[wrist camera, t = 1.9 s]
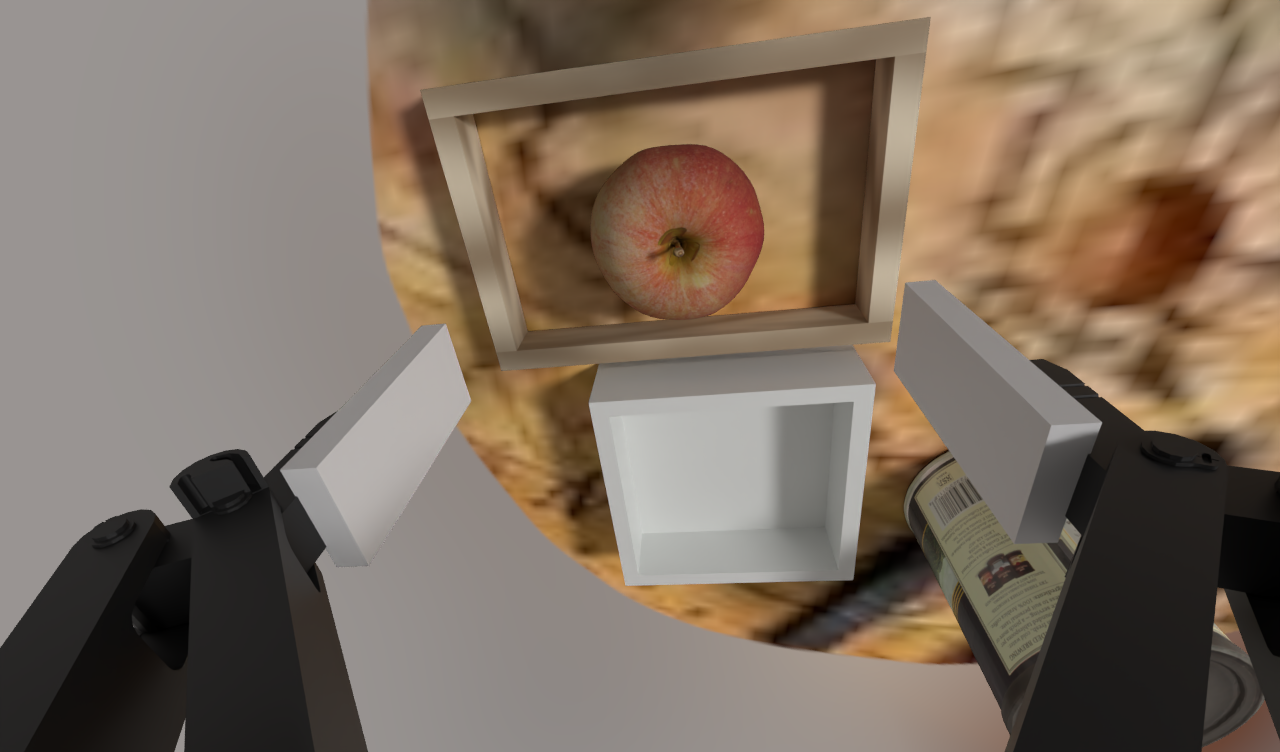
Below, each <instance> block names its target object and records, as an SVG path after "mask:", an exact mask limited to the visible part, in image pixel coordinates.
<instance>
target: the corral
mask: <svg viewBox="0 0 1280 752" xmlns="http://www.w3.org/2000/svg"><path fill="white" fill-rule="evenodd" d="M930 18H931V17H927V18H920V19H913V20H906V21H899V22H892V23H885V24H878V25H871V26H864V27H857V28H850V29H843V30H836V31H829V32H822V33H815V34H808V35H801V36H794V37H787V38H780V39H773V40H766V41H759V42H752V43H745V44H738V45H731V46H724V47H717V48H710V49H703V50H696V51H689V52H682V53H675V54H668V55H661V56H654V57H647V58H640V59H633V60H626V61H619V62H612V63H605V64H598V65H591V66H584V67H577V68H570V69H563V70H556V71H549V72H542V73H535V74H528V75H521V76H514V77H507V78H500V79H493V80H486V81H479V82H472V83H465V84H458V85H451V86H444V87H437V88H430V89H423V90H420V91H421V95H422V98H423V102H424V105H425V109H426V112H427V116H428V119H429V122H430V126H431V129H432V133H433V136H434V140H435V143H436V147H437V150H438V153H439V157H440V160H441V164H442V167H443V171H444V174H445V178H446V181H447V184H448V188H449V191H450V195H451V198H452V202H453V205H454V209H455V212H456V216H457V219H458V222H459V226H460V229H461V233H462V236H463V240H464V243H465V247H466V250H467V253H468V257H469V260H470V264H471V267H472V271H473V274H474V278H475V281H476V284H477V288H478V291H479V295H480V298H481V302H482V305H483V309H484V312H485V315H486V319H487V322H488V326H489V329H490V333H491V336H492V340H493V343H494V346H495V350H496V353H497V357H498V360H499V364H500V367H501V371H507V370H520V369H533V368H547V367H560V366H573V365H587V364H600V363H613V362H627V361H640V360H653V359H667V358H680V357H694V356H707V355H720V354H734V353H747V352H760V351H774V350H787V349H800V348H814V347H827V346H841V345H854V344H867V343H881V342H890V339H891V331H892V323H893V315H894V307H895V299H896V291H897V283H898V275H899V267H900V259H901V251H902V243H903V235H904V227H905V219H906V211H907V202H908V194H909V186H910V178H911V170H912V162H913V154H914V146H915V138H916V130H917V122H918V114H919V106H920V98H921V90H922V82H923V74H924V66H925V58H926V50H927V42H928V34H929V26H930ZM873 59H876V65H875V77H874V89H873V101H872V113H871V124H870V136H869V148H868V160H867V172H866V183H865V195H864V207H863V219H862V231H861V242H860V254H859V266H858V278H857V289H856V301H855V304H851V305H839V306H827V307H815V308H803V309H791V310H779V311H767V312H755V313H743V314H731V315H719V316H707V317H701V318H696V319H690V320H659V321H647V322H635V323H623V324H611V325H599V326H587V327H575V328H563V329H551V330H539V331H527V327H526V323H525V319H524V315H523V311H522V307H521V303H520V299H519V295H518V291H517V287H516V283H515V279H514V275H513V271H512V267H511V263H510V259H509V255H508V251H507V247H506V243H505V239H504V235H503V231H502V227H501V223H500V219H499V215H498V211H497V207H496V203H495V199H494V195H493V191H492V187H491V183H490V179H489V176H488V172H487V168H486V164H485V160H484V156H483V152H482V148H481V144H480V140H479V136H478V132H477V128H476V124H475V120H474V116H473V114H474V113H482V112H489V111H497V110H504V109H511V108H519V107H526V106H533V105H541V104H548V103H556V102H563V101H570V100H578V99H585V98H592V97H600V96H607V95H615V94H622V93H629V92H637V91H644V90H651V89H659V88H666V87H674V86H681V85H688V84H696V83H703V82H710V81H718V80H725V79H732V78H740V77H747V76H755V75H762V74H769V73H777V72H784V71H791V70H799V69H806V68H814V67H821V66H828V65H836V64H843V63H850V62H858V61H865V60H873Z"/></svg>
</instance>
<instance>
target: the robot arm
mask: <svg viewBox="0 0 1280 752" xmlns="http://www.w3.org/2000/svg"><path fill="white" fill-rule="evenodd" d="M894 372H895V373H896V375H897V376H898V377H899V379H900V380H901V382H902V383H903V385H904V386H905V388H906V389H907V390H908V392H909V393H910V395H911V396H912V398H913V399H914V401H915V402H916V403H917V405H918V406H919V408H920V409H921V411H922V412H923V413H924V415H925V416H926V418H927V419H928V421H929V422H930V424H931V425H932V426H933V428H934V429H935V431H936V432H937V434H938V435H939V437H940V438H941V439H942V441H943V442H944V444H945V445H946V447H947V448H948V450H949V451H950V452H951V454H952V455H953V457H954V458H955V460H956V461H957V462H958V464H959V465H960V467H961V468H962V470H963V471H964V473H965V474H966V475H967V477H968V478H969V480H970V481H971V483H972V484H973V486H974V487H975V488H976V490H977V491H978V493H979V494H980V496H981V497H982V499H983V500H984V501H985V503H986V504H987V506H988V507H989V509H990V510H991V511H992V513H993V514H994V516H995V517H996V519H997V520H998V522H999V523H1000V524H1001V526H1002V527H1003V529H1004V530H1005V532H1006V533H1007V535H1008V536H1009V537H1010V539H1011V540H1012V542H1013V543H1014V544H1030V543H1058V541H1059V538H1060V535H1061V533H1062V530H1063V527H1064V524H1065V522H1066V519H1068V520H1069V521H1070V522H1071V524H1072V525H1073V526H1074V527H1075V528H1076V529H1077V531H1078V532H1079V533H1080V534H1081V537H1080V539H1079V542H1078V544H1077V547H1076V549H1075V552H1074V555H1073V557H1072V560H1071V562H1070V565H1069V567H1068V570H1067V572H1066V575H1065V581H1064V584H1063V587H1062V590H1061V592H1060V595H1059V598H1058V601H1057V604H1056V607H1055V610H1054V612H1053V615H1052V618H1051V621H1050V624H1049V627H1048V630H1047V632H1046V635H1045V638H1044V641H1043V644H1042V647H1041V649H1040V652H1039V655H1038V658H1037V661H1036V664H1035V667H1034V669H1033V672H1032V675H1031V678H1030V681H1029V684H1028V687H1027V689H1026V692H1025V695H1024V698H1023V701H1022V704H1021V707H1020V709H1019V712H1018V715H1017V718H1016V721H1015V724H1014V727H1013V729H1012V732H1011V735H1010V738H1009V741H1008V744H1007V747H1006V749H1005V752H1201V751H1202V741H1203V730H1204V720H1205V709H1206V699H1207V689H1208V678H1209V668H1210V657H1211V647H1212V636H1213V626H1214V616H1215V605H1216V595H1217V587H1219V588H1224V590H1225V592H1226V595H1227V598H1228V601H1229V603H1230V606H1231V609H1232V612H1233V614H1234V617H1235V620H1236V622H1237V625H1238V628H1239V631H1240V633H1241V636H1242V639H1243V641H1244V644H1245V647H1246V650H1247V652H1248V655H1249V658H1250V660H1251V663H1252V666H1253V669H1254V671H1255V674H1256V677H1257V679H1258V682H1259V685H1260V688H1261V690H1262V693H1263V696H1264V698H1265V701H1266V704H1267V707H1268V709H1269V712H1270V714H1271V717H1272V720H1273V723H1274V726H1275V728H1276V731H1277V734H1278V736H1279V739H1280V472H1274V471H1266V470H1258V469H1251V468H1243V467H1235V466H1227V465H1226V462H1225V460H1224V459H1223V458H1222V457H1221V456H1219V455H1218V454H1217V453H1216V452H1215V451H1214V450H1212V449H1210V448H1208V447H1206V446H1204V445H1202V444H1201V443H1199V442H1197V441H1194V440H1191V439H1188V438H1185V437H1182V436H1179V435H1176V434H1171V433H1165V432H1159V431H1144V430H1143V429H1141V428H1140V427H1139V426H1138V425H1136V424H1135V423H1134V422H1133V421H1131V420H1130V419H1129V418H1128V417H1126V416H1125V415H1124V414H1123V413H1121V412H1120V411H1119V410H1117V409H1116V408H1115V407H1114V406H1112V405H1111V404H1110V403H1109V402H1107V401H1106V400H1105V399H1104V398H1102V397H1098V394H1097V393H1096V392H1095V391H1094V390H1092V389H1091V388H1090V387H1088V386H1085V385H1084V384H1085V383H1083V382H1082V381H1081V380H1080V379H1078V378H1077V377H1076V376H1075V375H1073V374H1072V373H1071V372H1070V371H1068V370H1067V369H1064V368H1062V367H1060V366H1057V365H1055V364H1053V363H1051V362H1048V361H1046V360H1044V359H1037V360H1028V359H1027V358H1026V357H1025V356H1024V355H1022V354H1021V353H1020V352H1019V351H1018V350H1017V349H1015V348H1014V347H1013V346H1012V345H1011V344H1010V343H1008V342H1007V341H1006V340H1005V339H1004V338H1003V337H1001V336H1000V335H999V334H998V333H997V332H996V331H994V330H993V329H992V328H991V327H990V326H988V325H987V324H986V323H985V322H984V321H983V320H981V319H980V318H979V317H978V316H977V315H976V314H974V313H973V312H972V311H971V310H970V309H969V308H967V307H966V306H965V305H964V304H963V303H961V302H960V301H959V300H958V299H957V298H956V297H954V296H953V295H952V294H951V293H950V292H949V291H947V290H946V289H945V288H944V287H943V286H942V285H940V284H939V283H938V282H937V281H936V280H930V281H919V282H907V283H905V289H904V296H903V304H902V312H901V320H900V327H899V335H898V343H897V351H896V358H895V366H894ZM470 402H471V399H470V396H469V393H468V390H467V387H466V384H465V381H464V378H463V375H462V371H461V368H460V365H459V362H458V359H457V356H456V353H455V350H454V347H453V344H452V341H451V338H450V335H449V332H448V329H447V326H446V324H436V325H425V326H421V327H420V328H419V329H418V330H417V331H416V332H415V333H414V334H413V335H412V336H411V337H410V338H409V339H408V340H407V341H406V342H405V343H404V344H403V345H402V346H401V347H400V348H399V349H398V351H396V353H394V354H393V355H392V356H391V357H390V359H388V360H387V362H386V363H385V364H384V365H383V366H382V367H381V368H380V369H379V370H378V371H377V372H376V373H375V374H374V375H373V376H372V377H371V378H370V379H369V380H368V381H367V382H366V383H365V384H364V385H363V386H362V387H361V388H360V389H359V390H358V391H357V392H356V393H355V394H354V395H353V396H352V397H351V398H350V399H349V400H348V401H347V402H346V403H345V404H344V405H343V406H342V407H341V408H340V409H339V411H337V412H335V413H333V414H332V415H331V416H329V417H327V418H326V419H324V420H322V421H321V422H319V423H318V424H317V425H316V426H315V427H314V428H313V429H312V430H311V431H310V432H309V433H308V434H307V435H306V438H305V439H302V440H301V441H300V442H299V443H298V444H297V445H296V446H295V449H294V450H291V451H290V452H289V453H288V454H287V455H286V456H285V457H284V458H283V459H282V460H281V461H280V462H279V463H278V464H277V465H276V466H275V467H274V468H273V469H272V470H271V471H270V472H269V473H268V474H267V475H266V476H265V477H264V478H263V476H262V474H261V473H260V471H259V470H258V468H257V466H256V465H255V463H254V461H253V460H252V458H251V456H250V455H249V454H248V452H247V451H245V450H239V449H235V450H228V451H223V452H220V453H217V454H213V455H210V456H208V457H206V458H204V459H202V460H199V461H197V462H195V463H194V464H192V465H191V466H189V467H187V468H186V469H184V470H183V471H182V472H181V473H179V474H178V475H177V476H176V477H175V478H174V479H173V481H172V483H171V485H170V488H171V490H172V491H173V492H174V494H175V495H176V496H177V498H178V499H179V501H180V502H181V503H182V505H183V506H184V507H185V509H186V510H187V512H188V513H189V514H190V516H191V517H192V518H193V519H190V520H186V521H182V522H179V523H175V524H171V525H167V526H164V525H163V523H162V522H161V521H160V520H159V518H158V517H157V516H156V514H155V513H153V511H151V510H137V511H132V512H128V513H125V514H122V515H120V516H115V517H112V518H110V519H108V520H106V522H102V523H100V524H99V525H97V526H95V527H94V529H93V530H91V531H90V532H88V533H87V534H86V535H84V536H83V537H82V538H81V539H80V540H79V541H78V542H77V543H76V544H75V545H74V546H73V547H72V548H71V550H70V551H69V553H68V554H67V555H66V557H65V558H64V560H63V561H62V562H61V564H60V565H59V567H58V568H57V570H56V571H55V572H54V574H53V575H52V576H51V578H50V579H49V581H48V582H47V583H46V585H45V586H44V588H43V589H42V590H41V592H40V593H39V595H38V596H37V597H36V599H35V600H34V602H33V603H32V605H31V606H30V607H29V609H28V610H27V612H26V613H25V614H24V616H23V617H22V618H21V620H20V621H19V623H18V624H17V625H16V627H15V628H14V630H13V631H12V632H11V634H10V635H9V637H8V638H7V639H6V641H5V642H4V644H3V645H2V646H1V648H0V752H174V751H175V748H176V745H177V742H178V739H179V736H180V733H181V730H182V726H183V724H184V720H185V718H186V722H185V750H184V752H368V750H367V746H366V742H365V739H364V734H363V731H362V727H361V723H360V719H359V715H358V711H357V707H356V703H355V700H354V696H353V692H352V688H351V684H350V680H349V676H348V672H347V669H346V665H345V661H344V657H343V653H342V649H341V645H340V641H339V638H338V634H337V630H336V626H335V622H334V618H333V614H332V611H331V607H330V603H329V599H328V595H327V591H326V587H325V583H324V580H323V576H322V573H321V571H320V570H319V568H318V566H317V565H316V563H315V562H316V560H317V559H318V557H319V556H320V555H321V553H322V552H323V550H324V549H325V548H326V550H327V552H328V553H329V555H330V557H331V558H332V560H333V562H334V563H335V565H336V567H357V566H369V565H370V564H371V562H372V561H373V559H374V557H375V556H376V554H377V552H378V551H379V549H380V548H381V546H382V544H383V543H384V541H385V539H386V538H387V536H388V535H389V533H390V531H391V530H392V528H393V527H394V525H395V523H396V522H397V520H398V518H399V517H400V515H401V514H402V512H403V510H404V509H405V507H406V506H407V504H408V502H409V501H410V499H411V498H412V496H413V494H414V493H415V491H416V489H417V488H418V486H419V485H420V483H421V481H422V480H423V478H424V476H425V475H426V473H427V471H428V470H429V468H430V467H431V465H432V464H433V462H434V460H435V459H436V457H437V455H438V454H439V452H440V451H441V449H442V447H443V446H444V444H445V442H446V441H447V439H448V438H449V436H450V434H451V433H452V431H453V430H454V428H455V426H456V425H457V423H458V421H459V420H460V418H461V417H462V415H463V413H464V412H465V410H466V408H467V407H468V405H469V404H470ZM133 626H134V627H133Z"/></svg>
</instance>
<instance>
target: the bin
mask: <svg viewBox="0 0 1280 752" xmlns="http://www.w3.org/2000/svg"><path fill="white" fill-rule="evenodd" d="M875 386H876V384H875V382H874V380H873V379H872V377H871V375H870V373H869V372H868V370H867V368H866V367H865V365H864V363H863V362H862V360H861V358H860V357H859V355H858V353H857V352H856V350H855V348H854V346H853V345H841V346H827V347H814V348H800V349H787V350H774V351H760V352H747V353H734V354H720V355H707V356H694V357H680V358H667V359H653V360H640V361H627V362H613V363H600V364H599V366H598V370H597V374H596V377H595V381H594V385H593V388H592V392H591V396H590V399H589V408H590V413H591V418H592V423H593V427H594V432H595V437H596V442H597V447H598V452H599V457H600V462H601V467H602V472H603V477H604V481H605V486H606V491H607V496H608V501H609V506H610V511H611V516H612V521H613V526H614V531H615V536H616V540H617V545H618V550H619V555H620V560H621V565H622V570H623V575H624V580H625V585H626V586H631V585H672V584H714V583H755V582H797V581H839V580H853V578H854V570H855V561H856V552H857V543H858V535H859V526H860V517H861V508H862V500H863V491H864V482H865V474H866V465H867V456H868V447H869V439H870V430H871V421H872V412H873V404H874V395H875Z"/></svg>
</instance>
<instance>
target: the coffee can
mask: <svg viewBox="0 0 1280 752" xmlns="http://www.w3.org/2000/svg"><path fill="white" fill-rule="evenodd" d="M904 514H905V518H906V521H907V523H908V525H909V527H910V529H911V530H912V532H913V533H914V535H915V537H916V539H917V541H918V543H919V545H920V547H921V549H922V551H923V553H924V555H925V557H926V559H927V560H928V562H929V565H930V567H931V569H932V571H933V573H934V575H935V577H936V579H937V581H938V583H939V585H940V587H941V589H942V591H943V593H944V595H945V597H946V599H947V601H948V603H949V605H950V607H951V609H952V611H953V613H954V615H955V617H956V619H957V621H958V623H959V625H960V627H961V630H962V632H963V634H964V636H965V638H966V640H967V642H968V644H969V646H970V648H971V650H972V652H973V654H974V656H975V658H976V660H977V662H978V664H979V666H980V668H981V670H982V672H983V674H984V676H985V678H986V680H987V682H988V684H989V686H990V688H991V690H992V692H993V694H994V696H995V698H996V700H997V702H998V704H999V707H1000V709H1001V713H1002V717H1003V721H1004V723H1005V725H1006V728H1007V730H1008V732H1009V734H1010V735H1011V732H1012V729H1013V727H1014V724H1015V721H1016V718H1017V715H1018V712H1019V709H1020V707H1021V704H1022V701H1023V698H1024V695H1025V692H1026V689H1027V687H1028V684H1029V681H1030V678H1031V675H1032V672H1033V669H1034V667H1035V664H1036V661H1037V658H1038V655H1039V652H1040V649H1041V647H1042V644H1043V641H1044V638H1045V635H1046V632H1047V630H1048V627H1049V624H1050V621H1051V618H1052V615H1053V612H1054V610H1055V607H1056V604H1057V601H1058V598H1059V595H1060V592H1061V590H1062V587H1063V584H1064V581H1065V575H1066V572H1067V570H1068V567H1069V565H1070V562H1071V560H1072V557H1073V555H1074V552H1075V549H1076V547H1077V544H1078V542H1079V539H1080V537H1081V534H1080V533H1079V532H1078V531H1077V529H1076V528H1075V527H1074V526H1073V525H1072V524H1071V522H1070V521H1069V520H1068V519H1066V522H1065V524H1064V527H1063V530H1062V533H1061V535H1060V538H1059V541H1058V543H1030V544H1014V543H1013V542H1012V540H1011V539H1010V537H1009V536H1008V535H1007V533H1006V532H1005V530H1004V529H1003V527H1002V526H1001V524H1000V523H999V522H998V520H997V519H996V517H995V516H994V514H993V513H992V511H991V510H990V509H989V507H988V506H987V504H986V503H985V501H984V500H983V499H982V497H981V496H980V494H979V493H978V491H977V490H976V488H975V487H974V486H973V484H972V483H971V481H970V480H969V478H968V477H967V475H966V474H965V473H964V471H963V470H962V468H961V467H960V465H959V464H958V462H957V461H956V460H955V458H954V457H953V455H952V454H951V452H950V451H948V452H946V453H945V454H943V455H941V456H939V457H938V458H936V459H935V460H933V461H932V462H931V463H929V464H928V465H927V466H926V467H925V468H924V469H923V470H922V471H921V472H920V473H919V474H918V475H917V476H916V477H915V479H914V480H913V482H912V483H911V485H910V486H909V488H908V491H907V494H906V497H905V501H904ZM1264 699H1265V698H1264V696H1263V693H1262V690H1261V688H1260V685H1259V682H1258V679H1257V677H1256V674H1255V671H1254V669H1253V666H1252V663H1251V660H1250V658H1249V655H1248V654H1246V653H1245V652H1244V651H1243V650H1242V649H1241V648H1239V647H1238V646H1237V645H1235V644H1233V643H1232V642H1231V641H1230V640H1229V639H1228V638H1227V637H1226V636H1225V634H1224V633H1223V632H1222V631H1221V630H1220V629H1219V628H1218V627H1217V626H1216V625H1215V624H1214V626H1213V636H1212V647H1211V657H1210V668H1209V678H1208V689H1207V699H1206V709H1205V720H1204V730H1203V741H1202V747H1204V746H1207V745H1209V744H1211V743H1213V742H1215V741H1218V740H1220V739H1222V738H1223V737H1225V736H1226V735H1228V734H1230V733H1231V732H1233V731H1235V730H1236V729H1238V728H1239V727H1241V726H1242V725H1243V724H1244V723H1246V722H1247V721H1248V720H1249V719H1250V718H1251V717H1252V716H1253V715H1254V714H1255V713H1256V712H1257V710H1258V709H1259V708H1260V707H1261V705H1262V703H1263V702H1264Z"/></svg>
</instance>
